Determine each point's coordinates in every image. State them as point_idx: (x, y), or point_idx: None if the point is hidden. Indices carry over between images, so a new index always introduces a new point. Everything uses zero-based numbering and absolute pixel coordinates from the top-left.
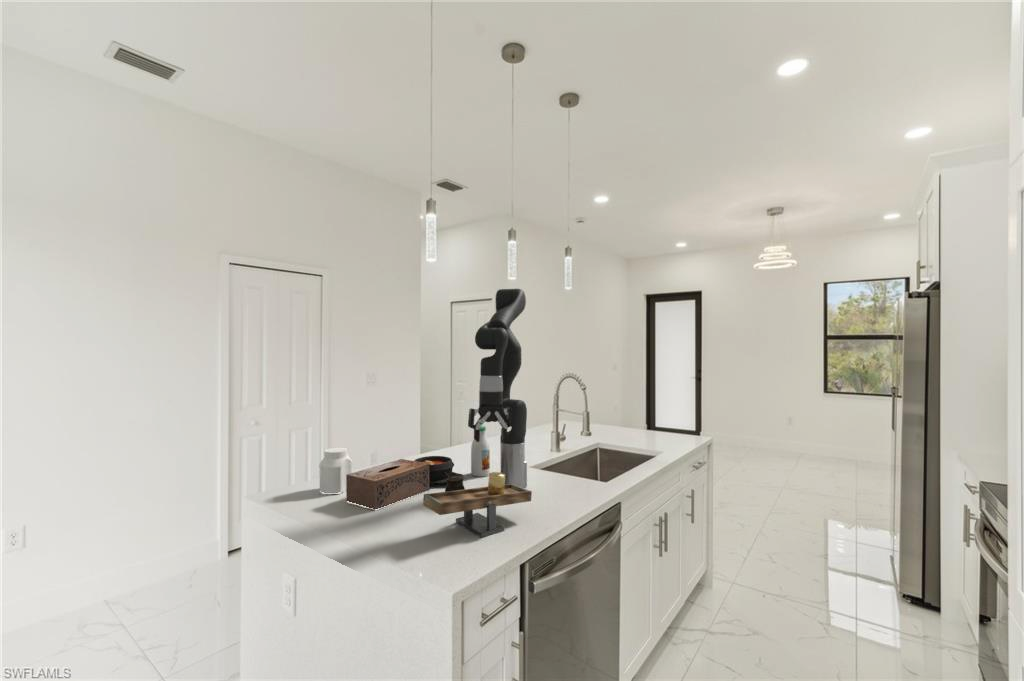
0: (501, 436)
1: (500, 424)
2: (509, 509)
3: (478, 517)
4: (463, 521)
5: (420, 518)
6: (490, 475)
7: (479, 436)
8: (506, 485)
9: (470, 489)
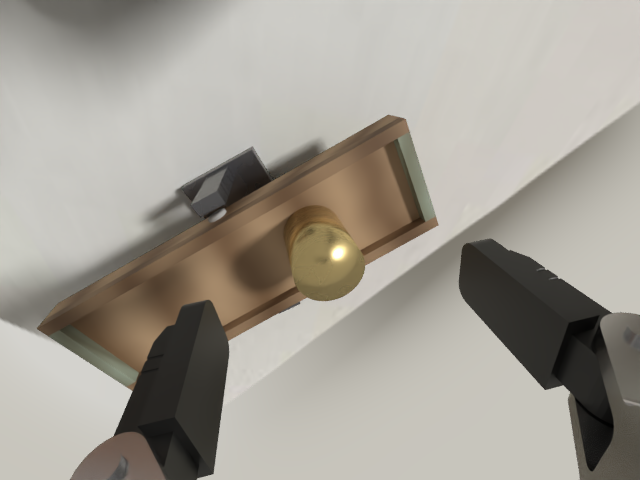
0: (484, 267)
1: (609, 396)
2: (364, 97)
3: (253, 190)
4: (208, 213)
5: (44, 127)
6: (297, 287)
7: (222, 393)
8: (373, 151)
9: (214, 238)
